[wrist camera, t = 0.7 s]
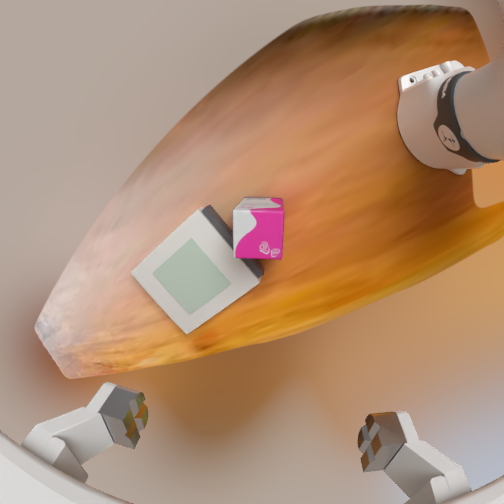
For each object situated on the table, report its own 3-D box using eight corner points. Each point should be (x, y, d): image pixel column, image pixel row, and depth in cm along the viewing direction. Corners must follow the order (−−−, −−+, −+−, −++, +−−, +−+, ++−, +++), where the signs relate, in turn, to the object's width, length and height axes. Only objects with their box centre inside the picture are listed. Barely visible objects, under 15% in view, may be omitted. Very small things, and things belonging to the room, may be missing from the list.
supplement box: (243, 235, 43) (231, 258, 32) (243, 196, 42) (231, 206, 31) (281, 237, 43) (282, 260, 32) (283, 197, 41) (284, 208, 30)
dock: (207, 202, 42) (202, 205, 39) (266, 271, 45) (265, 279, 42) (138, 266, 47) (129, 273, 43) (191, 325, 49) (186, 335, 46)
